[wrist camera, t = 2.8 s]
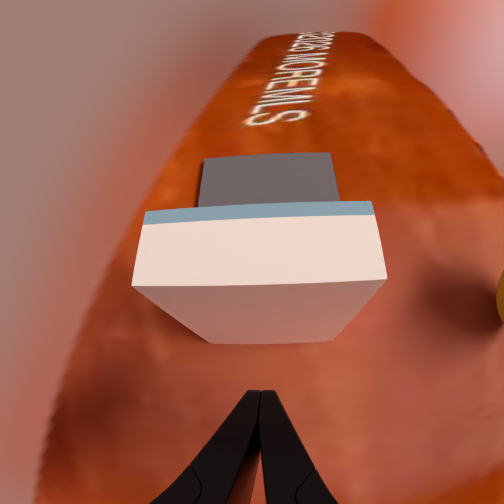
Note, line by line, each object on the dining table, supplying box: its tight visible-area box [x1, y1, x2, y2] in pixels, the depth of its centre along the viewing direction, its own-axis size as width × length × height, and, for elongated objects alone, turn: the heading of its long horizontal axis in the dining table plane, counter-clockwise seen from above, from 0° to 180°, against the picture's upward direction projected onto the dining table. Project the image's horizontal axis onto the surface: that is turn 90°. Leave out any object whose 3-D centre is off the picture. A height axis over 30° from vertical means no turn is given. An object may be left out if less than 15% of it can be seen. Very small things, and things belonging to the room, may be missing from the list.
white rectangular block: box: [131, 201, 387, 344], centre depth 13 cm, size 2×7×10 cm, turn 89°
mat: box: [198, 153, 340, 207], centre depth 20 cm, size 11×10×1 cm
